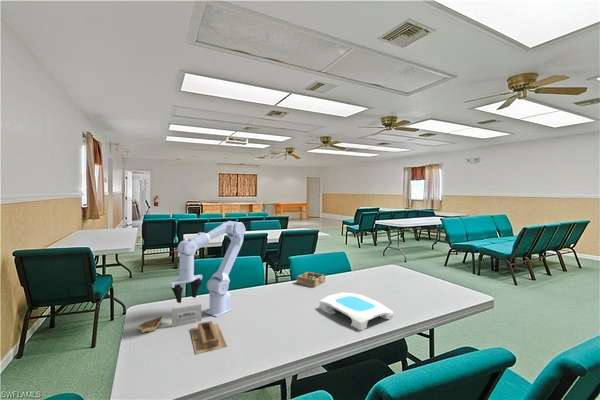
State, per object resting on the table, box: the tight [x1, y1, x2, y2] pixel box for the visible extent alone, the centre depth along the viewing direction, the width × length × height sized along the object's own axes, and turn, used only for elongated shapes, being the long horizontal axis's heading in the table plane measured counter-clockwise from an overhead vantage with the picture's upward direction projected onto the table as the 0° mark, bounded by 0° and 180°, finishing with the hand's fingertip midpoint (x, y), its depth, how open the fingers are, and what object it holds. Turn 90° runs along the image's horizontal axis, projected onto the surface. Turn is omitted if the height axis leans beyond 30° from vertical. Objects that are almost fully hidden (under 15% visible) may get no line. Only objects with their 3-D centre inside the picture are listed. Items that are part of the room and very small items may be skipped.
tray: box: [190, 320, 228, 356], centre depth 109 cm, size 11×20×3 cm, turn 26°
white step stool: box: [319, 292, 394, 331], centre depth 131 cm, size 21×28×6 cm
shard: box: [136, 315, 164, 334], centre depth 118 cm, size 11×8×2 cm
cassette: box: [171, 303, 202, 328], centre depth 121 cm, size 12×2×8 cm, turn 117°
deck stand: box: [296, 271, 326, 288], centre depth 176 cm, size 13×13×5 cm
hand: (186, 299), depth 121 cm, fingers open, 7 cm apart
